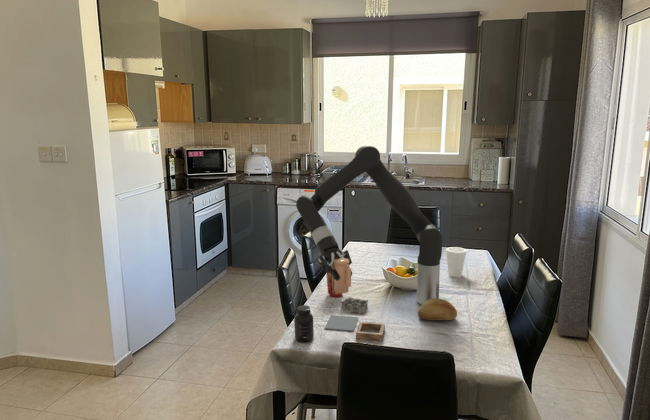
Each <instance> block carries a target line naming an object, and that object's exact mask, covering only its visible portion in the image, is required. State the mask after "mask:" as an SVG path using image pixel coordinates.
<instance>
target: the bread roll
mask: <svg viewBox="0 0 650 420" xmlns="http://www.w3.org/2000/svg"><path fill="white" fill-rule="evenodd" d="M420 305H421V306H419V308H418V311H417V315H418V317H419V318H420V319H421V320H423V321H424V320H425V321H452V320H454V319H456V318H457V316H458V312H457V308H456V307H455V306H454V305H453V304H452V303H450V301H448V300H446V299H442V298H439V299H429V300H427V301H425V302H424V303H423V304H420Z"/></svg>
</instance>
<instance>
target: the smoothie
mask: <svg viewBox="0 0 650 420" xmlns="http://www.w3.org/2000/svg"><path fill="white" fill-rule="evenodd" d="M325 273H326V283H327V284H326V285H327V286H326V287H327V294H328V296H329V297H330V298H335V299H336V298H341V297H342V296H343V295H344V293H336V292H335V291H334V278H333V276H332V274H331V273H330V272H325Z"/></svg>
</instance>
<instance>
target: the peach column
mask: <svg viewBox="0 0 650 420" xmlns="http://www.w3.org/2000/svg"><path fill="white" fill-rule="evenodd" d="M334 266H335V269H336V271H337V272H338V274H339V276H340V279H339V280H337V281H336V280H335V279H334V291H335V292H336V293H343V294H346V293H348V292H350V291H349V288H350V287H352V276H351V271H352V268H351V267H350V265H349V260H348V259H346V258H337V259H334ZM349 267H350V268H349Z"/></svg>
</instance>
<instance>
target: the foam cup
mask: <svg viewBox="0 0 650 420" xmlns="http://www.w3.org/2000/svg"><path fill="white" fill-rule="evenodd" d="M445 254H446V263H447V273H448V276H450V277H452V278H460V277H462V275H463V271H464V266H465V265H464V264H465V259H466V256H467V250H466V248H463V247H458V246H454V247H453V246H451V247H446V249H445Z"/></svg>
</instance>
